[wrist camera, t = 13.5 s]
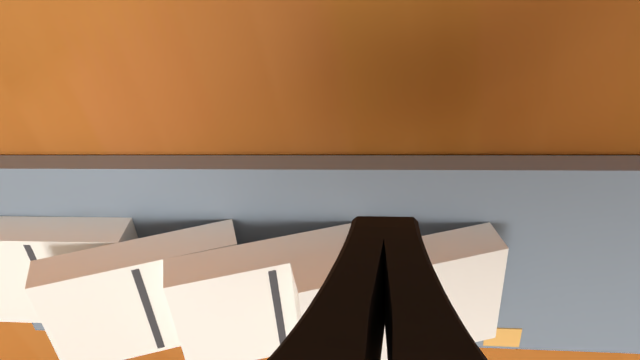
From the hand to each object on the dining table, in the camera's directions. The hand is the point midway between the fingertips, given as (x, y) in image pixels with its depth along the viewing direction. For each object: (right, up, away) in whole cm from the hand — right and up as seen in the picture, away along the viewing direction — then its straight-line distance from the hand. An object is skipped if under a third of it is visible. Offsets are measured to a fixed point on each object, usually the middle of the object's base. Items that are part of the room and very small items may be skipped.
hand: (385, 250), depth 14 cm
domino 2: (+1, -3, +12) cm, 12 cm away
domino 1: (-5, -3, +13) cm, 14 cm away
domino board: (-1, -2, +14) cm, 14 cm away
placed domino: (+6, -3, +11) cm, 13 cm away
